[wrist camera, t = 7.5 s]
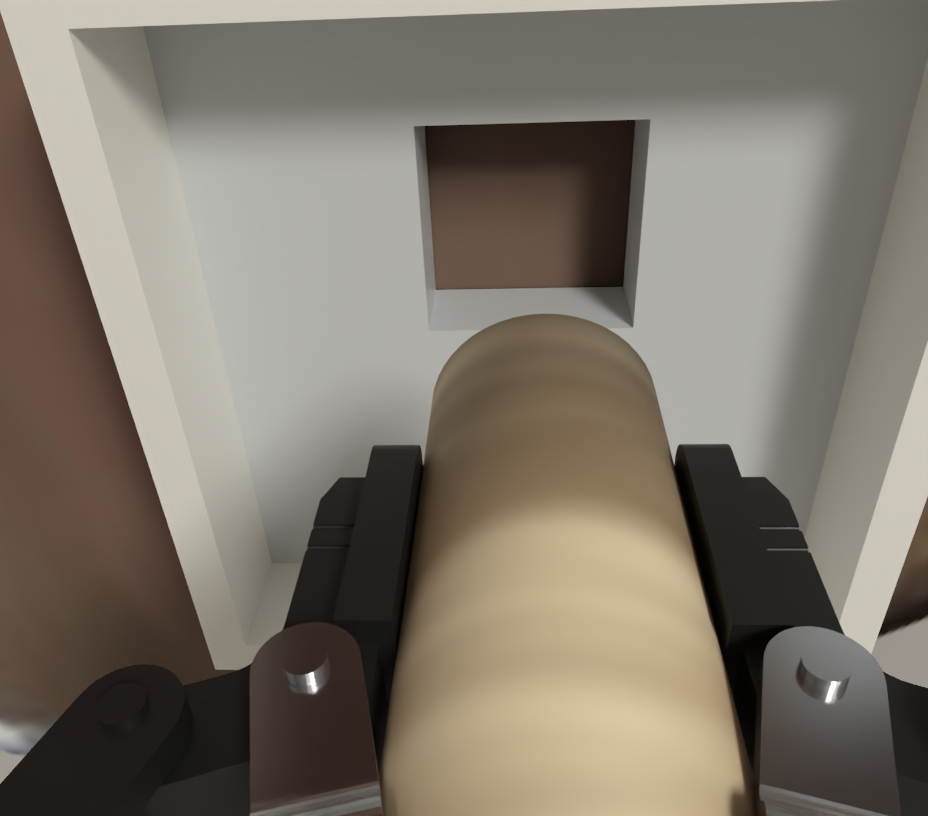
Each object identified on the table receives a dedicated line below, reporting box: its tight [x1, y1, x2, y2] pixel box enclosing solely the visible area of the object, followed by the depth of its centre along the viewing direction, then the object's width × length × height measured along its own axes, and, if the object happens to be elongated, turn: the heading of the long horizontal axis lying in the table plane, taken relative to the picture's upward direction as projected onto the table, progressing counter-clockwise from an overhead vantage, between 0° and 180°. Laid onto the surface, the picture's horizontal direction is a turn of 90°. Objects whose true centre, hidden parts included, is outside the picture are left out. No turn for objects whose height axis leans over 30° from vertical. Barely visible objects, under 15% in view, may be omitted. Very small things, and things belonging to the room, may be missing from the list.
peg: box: [379, 313, 755, 816], centre depth 11 cm, size 4×4×10 cm
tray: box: [0, 0, 928, 670], centre depth 23 cm, size 20×20×6 cm
